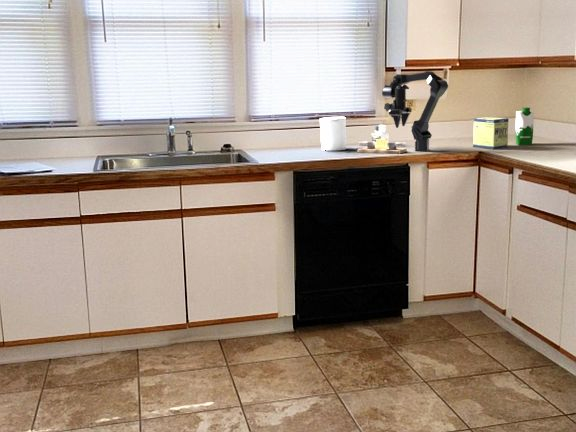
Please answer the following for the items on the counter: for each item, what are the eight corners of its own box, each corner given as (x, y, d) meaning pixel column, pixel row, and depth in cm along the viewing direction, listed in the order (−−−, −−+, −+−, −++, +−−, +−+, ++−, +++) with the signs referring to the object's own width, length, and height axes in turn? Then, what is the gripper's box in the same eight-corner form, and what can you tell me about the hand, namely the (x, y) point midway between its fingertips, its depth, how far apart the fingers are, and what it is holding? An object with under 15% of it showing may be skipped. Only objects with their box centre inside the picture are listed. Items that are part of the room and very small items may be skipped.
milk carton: (517, 145, 369) (518, 108, 365) (513, 143, 378) (514, 107, 374) (534, 145, 368) (535, 107, 364) (530, 143, 377) (531, 106, 373)
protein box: (493, 149, 358) (494, 119, 355) (472, 147, 371) (473, 118, 368) (508, 147, 363) (509, 118, 359) (486, 145, 376) (487, 116, 373)
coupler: (379, 148, 368) (379, 138, 366) (387, 148, 365) (387, 139, 364) (376, 149, 364) (376, 139, 363) (384, 149, 362) (384, 139, 361)
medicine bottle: (371, 146, 391) (371, 125, 389) (380, 145, 395) (380, 124, 393) (380, 147, 386) (380, 125, 383) (389, 145, 390) (389, 124, 387)
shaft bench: (408, 151, 363) (408, 141, 361) (401, 153, 354) (401, 143, 353) (363, 150, 376) (363, 140, 375) (355, 152, 367) (355, 142, 366)
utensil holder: (315, 150, 381) (314, 119, 377) (326, 147, 394) (326, 116, 390) (340, 151, 374) (339, 119, 370) (350, 148, 387) (350, 116, 383)
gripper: (392, 96, 380) (392, 125, 383) (379, 99, 364) (379, 128, 368) (411, 96, 374) (411, 125, 378) (399, 98, 359) (399, 128, 362)
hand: (400, 126), depth 372 cm, fingers open, 9 cm apart
